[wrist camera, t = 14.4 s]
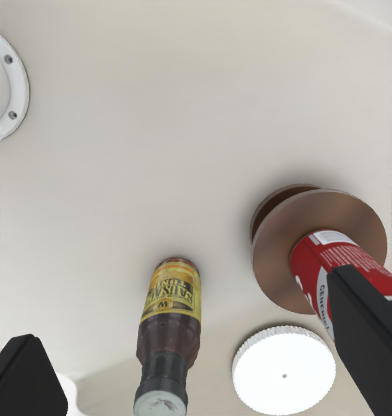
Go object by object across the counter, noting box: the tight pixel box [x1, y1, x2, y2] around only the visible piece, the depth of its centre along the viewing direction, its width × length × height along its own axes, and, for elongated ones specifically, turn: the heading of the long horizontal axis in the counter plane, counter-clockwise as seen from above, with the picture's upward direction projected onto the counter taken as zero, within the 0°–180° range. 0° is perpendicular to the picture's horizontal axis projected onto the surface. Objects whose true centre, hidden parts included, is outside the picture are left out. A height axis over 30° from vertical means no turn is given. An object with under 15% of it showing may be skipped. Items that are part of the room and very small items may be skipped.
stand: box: [250, 184, 387, 315], centre depth 39 cm, size 14×14×8 cm
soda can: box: [290, 229, 392, 343], centre depth 29 cm, size 7×7×12 cm
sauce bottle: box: [133, 258, 201, 416], centre depth 35 cm, size 7×6×20 cm
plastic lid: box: [232, 325, 336, 416], centre depth 47 cm, size 14×14×2 cm
